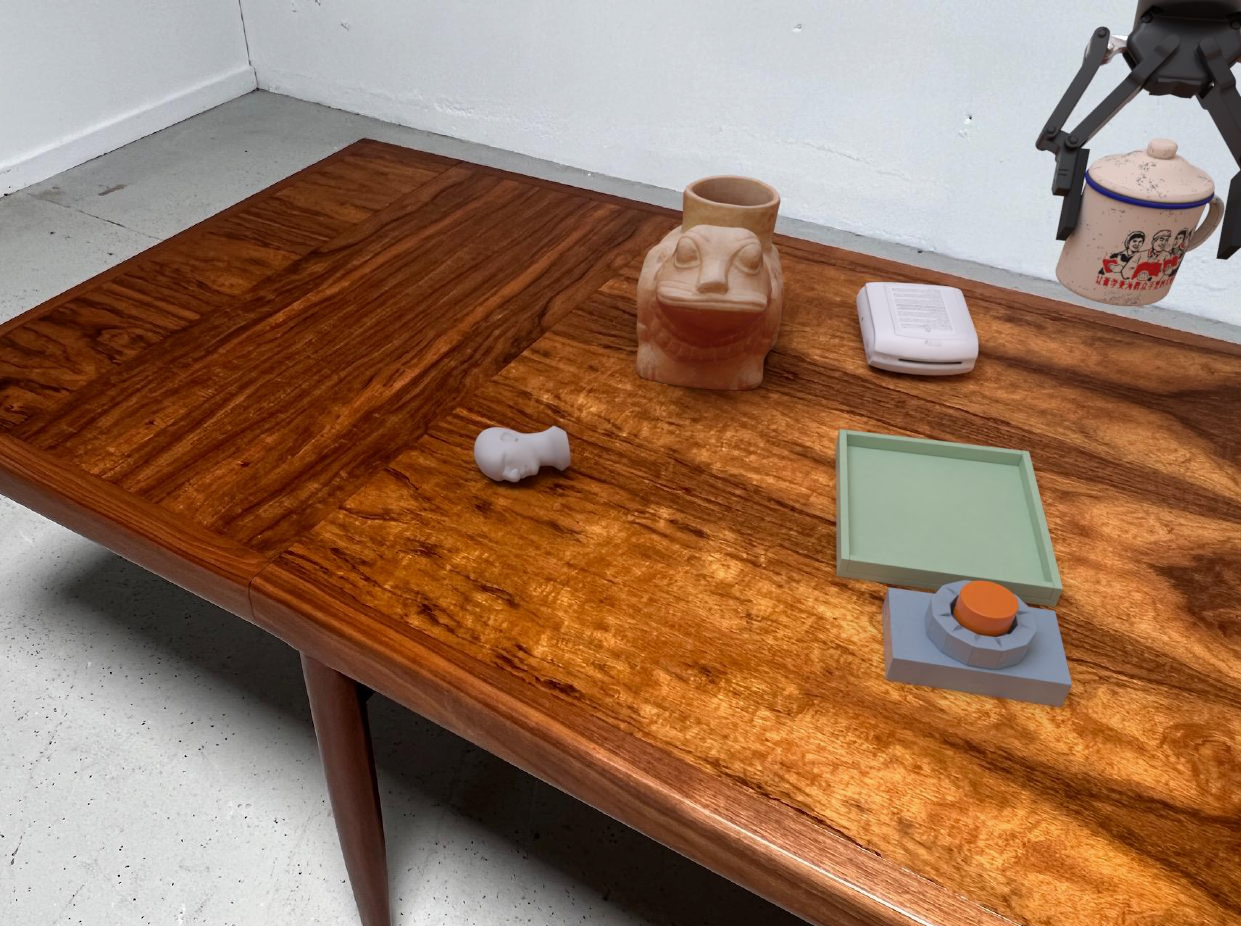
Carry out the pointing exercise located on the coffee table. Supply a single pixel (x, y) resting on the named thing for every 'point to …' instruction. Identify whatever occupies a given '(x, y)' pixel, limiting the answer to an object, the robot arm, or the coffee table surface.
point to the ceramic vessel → (713, 289)
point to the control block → (973, 649)
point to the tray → (941, 516)
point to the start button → (986, 608)
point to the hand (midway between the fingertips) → (1145, 243)
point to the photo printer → (917, 328)
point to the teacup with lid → (1137, 225)
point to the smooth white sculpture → (520, 452)
